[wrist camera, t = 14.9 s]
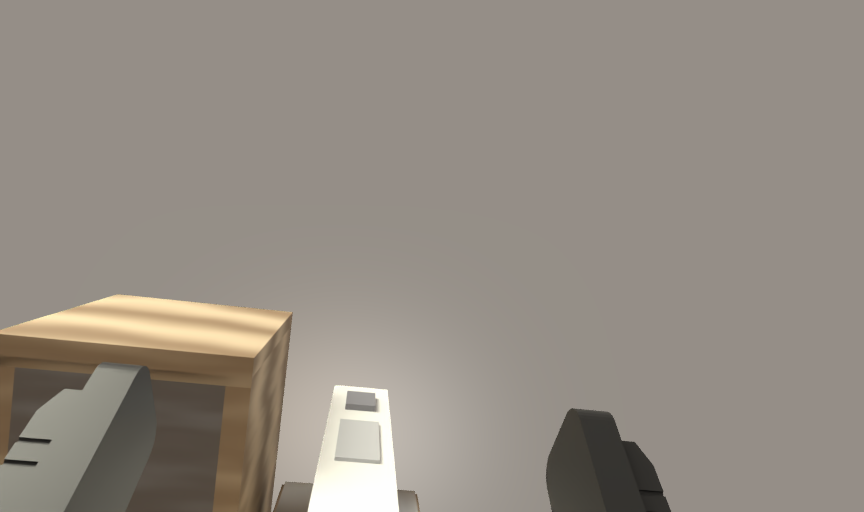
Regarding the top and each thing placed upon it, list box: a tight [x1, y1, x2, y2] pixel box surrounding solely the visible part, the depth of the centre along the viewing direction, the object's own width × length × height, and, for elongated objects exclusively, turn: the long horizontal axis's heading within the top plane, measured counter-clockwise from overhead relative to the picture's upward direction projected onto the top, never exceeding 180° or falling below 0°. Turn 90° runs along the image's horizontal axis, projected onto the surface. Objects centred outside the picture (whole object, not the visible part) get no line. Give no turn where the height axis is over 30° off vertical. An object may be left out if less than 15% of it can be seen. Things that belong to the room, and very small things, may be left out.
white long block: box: [308, 385, 399, 512], centre depth 34 cm, size 24×4×5 cm, turn 6°
